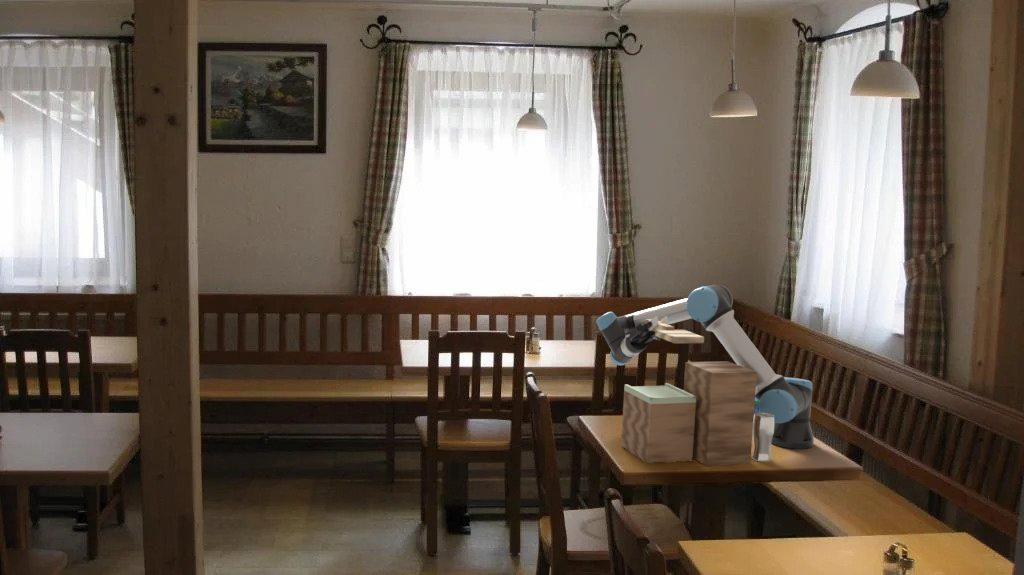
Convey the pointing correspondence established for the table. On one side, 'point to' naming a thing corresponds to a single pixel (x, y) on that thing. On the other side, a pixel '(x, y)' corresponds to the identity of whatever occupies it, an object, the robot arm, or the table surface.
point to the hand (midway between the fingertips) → (661, 320)
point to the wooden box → (658, 429)
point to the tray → (660, 394)
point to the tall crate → (722, 411)
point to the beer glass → (762, 436)
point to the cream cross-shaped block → (675, 334)
